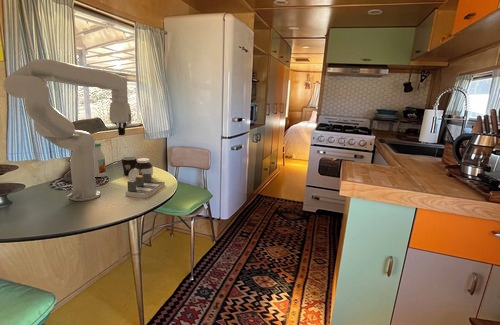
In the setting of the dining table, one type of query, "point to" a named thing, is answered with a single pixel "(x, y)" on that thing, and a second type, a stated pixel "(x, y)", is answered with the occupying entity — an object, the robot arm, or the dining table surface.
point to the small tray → (144, 187)
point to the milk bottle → (99, 161)
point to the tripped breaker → (139, 180)
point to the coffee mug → (128, 164)
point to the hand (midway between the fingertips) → (121, 134)
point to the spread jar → (141, 168)
